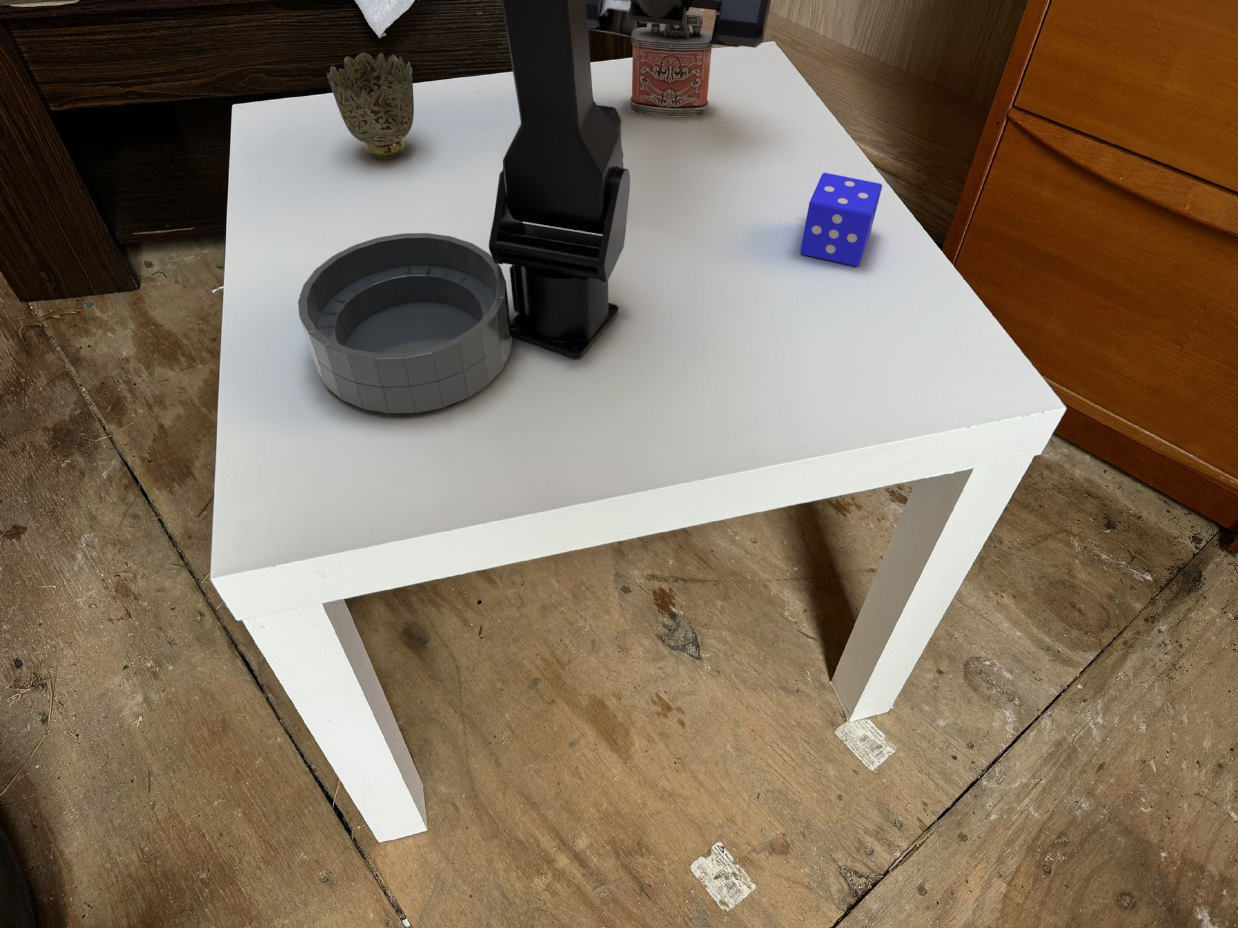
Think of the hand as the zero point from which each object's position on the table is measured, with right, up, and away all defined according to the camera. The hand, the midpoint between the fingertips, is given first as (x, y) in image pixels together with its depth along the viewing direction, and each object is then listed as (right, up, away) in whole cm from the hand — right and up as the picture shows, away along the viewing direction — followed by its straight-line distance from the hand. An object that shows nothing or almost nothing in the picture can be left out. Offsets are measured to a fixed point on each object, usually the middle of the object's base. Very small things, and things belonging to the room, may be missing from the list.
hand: (675, 37), depth 87 cm
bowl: (-21, -34, -21) cm, 45 cm away
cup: (-28, -12, -2) cm, 31 cm away
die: (+13, -24, -12) cm, 29 cm away
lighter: (0, -6, +4) cm, 7 cm away
